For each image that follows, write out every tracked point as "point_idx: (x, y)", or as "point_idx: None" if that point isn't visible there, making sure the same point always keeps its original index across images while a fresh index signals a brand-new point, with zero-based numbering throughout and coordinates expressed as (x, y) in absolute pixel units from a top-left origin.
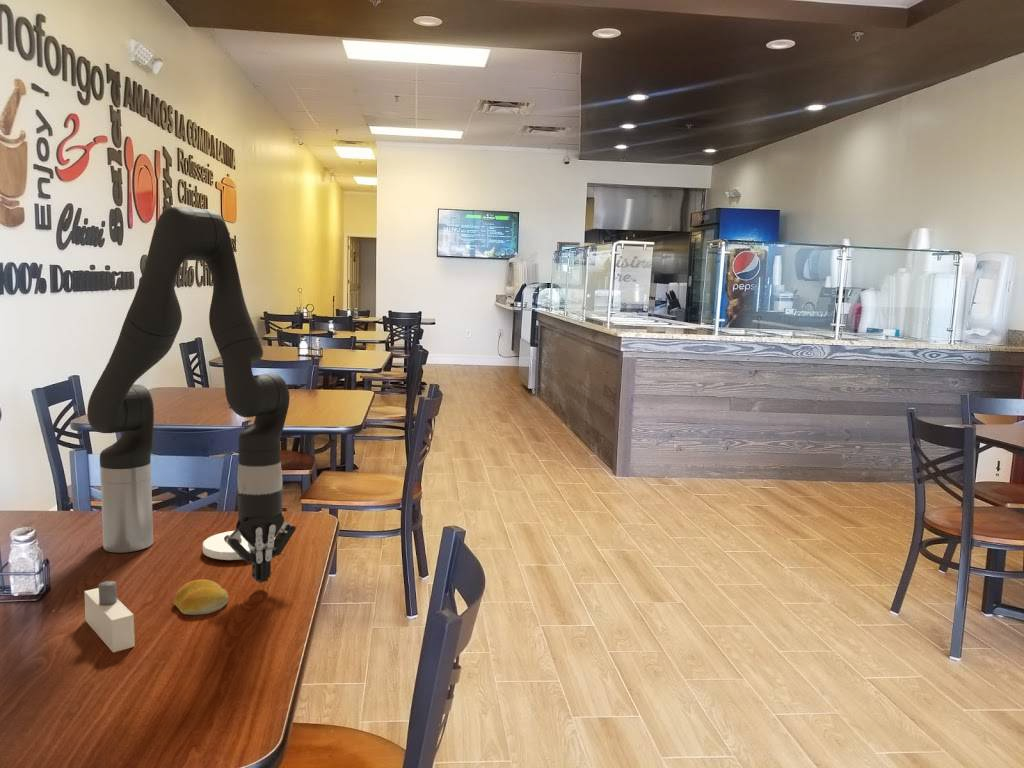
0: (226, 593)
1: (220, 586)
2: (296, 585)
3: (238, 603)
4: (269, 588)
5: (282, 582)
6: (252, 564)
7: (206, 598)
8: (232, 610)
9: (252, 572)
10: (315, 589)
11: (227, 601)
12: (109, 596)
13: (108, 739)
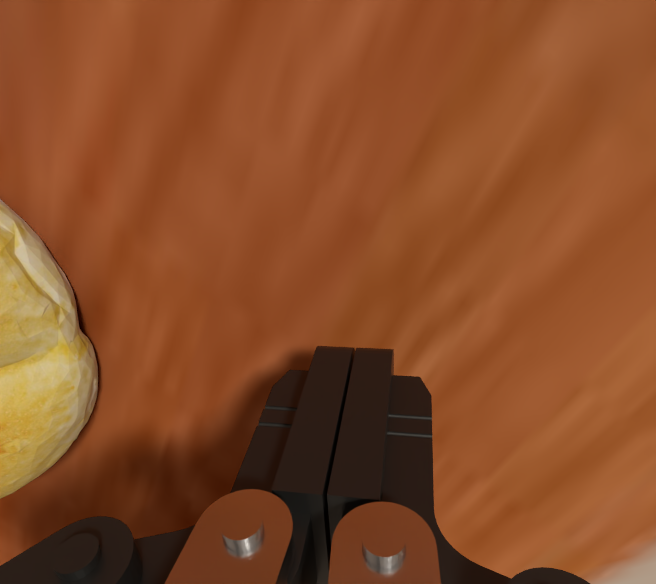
0: (53, 447)
1: (18, 331)
2: (602, 442)
3: (158, 433)
4: (415, 369)
5: (565, 335)
6: (236, 490)
7: None
8: (112, 479)
9: (265, 413)
10: (643, 554)
11: (92, 410)
12: None
13: None
